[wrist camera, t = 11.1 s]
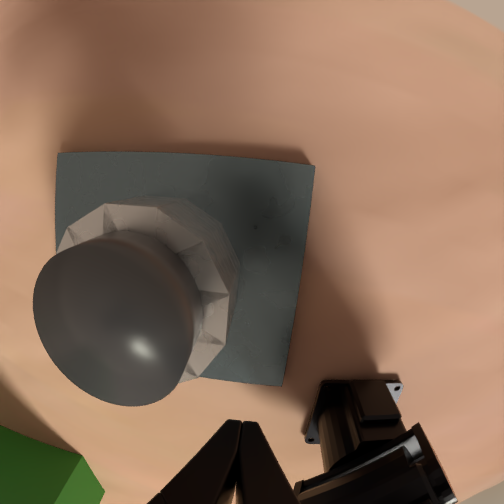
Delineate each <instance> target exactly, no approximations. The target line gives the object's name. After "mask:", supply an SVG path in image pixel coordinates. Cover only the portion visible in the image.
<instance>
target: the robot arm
mask: <svg viewBox="0 0 504 504" xmlns="http://www.w3.org/2000/svg"><path fill="white" fill-rule="evenodd" d="M325 386H329V387H328V388H324V387H325ZM396 386H398V387H397V388H395V387H396ZM402 389H403V384H402V382H401V381H399V380H324V381H322V382H321V383H320V385H319V389H318V393H317V396H316V400H315V403H314V407H313V410H312V414H311V417H310V421H309V424H308V427H307V430H306V434H305V442H306V443H308V444H320V447H321V453H322V460H323V467H324V473H323V474H320V475H318V476H315V477H313V478H310V479H308V480H305V481H304V480H302V481H299V482H296V483H295V486H294V490H293V489H292V487H291V486H290V484H289V482H288V480H287V478H286V476H285V474H284V472H283V471H282V469H281V467H280V465H279V463H278V461H277V459H276V457H275V455H274V453H273V451H272V449H271V448H270V446H269V444H268V442H267V440H266V438H265V436H264V434H263V432H262V430H261V428H260V426H259V424H258V423H257V422H252V421H244V422H243V423H242V421H240V420H231V419H228V420H227V421H225V423H224V424H223V425H222V426H221V427H220V428H219V429H218V431H217V432H216V433H215V434H214V435H213V436H212V437H211V438H210V439H209V441H208V442H207V443H206V444H205V445H204V446H203V447H202V448H201V449H200V450H199V451H198V453H197V454H196V455H195V456H194V457H193V458H192V459H191V460H190V461H189V462H188V463H187V464H186V465H185V466H184V467H183V468H182V469H181V470H180V472H179V473H178V474H177V475H176V476H175V477H174V478H173V479H172V480H171V481H170V482H169V483H168V484H167V485H166V486H165V487H164V488H163V489H162V490H161V491H160V493H157V494H156V495H155V496H154V497H153V498H152V499H151V500H150V501H149V502H148V503H147V504H231V503H232V499H233V496H234V492H235V486H236V504H455V503H457V502H458V501H457V498H456V496H455V494H454V491H453V489H452V487H451V484H450V482H449V480H448V477H447V475H446V473H445V471H444V469H443V467H442V465H441V463H440V461H439V459H438V457H437V455H436V453H435V451H434V449H433V447H432V446H431V444H430V442H429V440H428V438H427V436H426V434H425V433H424V431H423V429H422V427H421V425H420V424H419V423H417V424H415V425H414V426H412V428H411V429H410V430H408V431H406V429H405V427H404V424H403V422H402V420H401V417H402V416H401V413H400V411H399V409H398V407H397V405H396V403H397V401H398V399H399V396H400V394H401V392H402ZM310 438H311V439H310Z"/></svg>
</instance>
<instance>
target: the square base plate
mask: <svg viewBox="0 0 504 504" xmlns="http://www.w3.org/2000/svg"><path fill="white" fill-rule="evenodd" d="M314 172H315V166H313V165H306V164H298V163H290V162H282V161H273V160H264V159H254V158H243V157H232V156H219V155H205V154H187V153H164V152H69V153H58V157H57V171H56V195H55V232H56V254H57V253H59V252H61V251H63V250H65V249H68V248H70V247H72V246H75V245H77V244H80V243H82V242H85V241H87V240H90V239H92V238H95V237H97V236H100V235H102V234H105V233H109V232H114V231H132V232H138V233H141V234H144V235H147V236H150V237H152V238H154V239H156V240H158V241H159V242H161V243H163V244H164V245H166V246H167V247H168V248H169V249H171V250H172V251H173V252H174V253H175V254H176V255H177V256H178V257H179V258H180V259H181V260H182V261H183V263H184V264H185V265H186V267H187V268H188V269H189V271H190V273H191V274H192V276H193V278H194V280H195V282H196V284H197V287H198V290H199V293H200V296H201V301H202V307H203V319H202V327H201V331H200V334H199V337H198V339H197V341H196V344H195V346H194V348H193V351H192V353H191V355H190V358H189V360H188V363H187V365H186V367H185V370H184V372H183V374H182V377H181V379H180V381H179V383H181V382H185V381H189V380H192V379H196V378H198V377H204V378H211V379H218V380H226V381H233V382H242V383H250V384H260V385H270V386H282V383H283V378H284V372H285V367H286V362H287V356H288V351H289V345H290V340H291V334H292V328H293V322H294V316H295V310H296V304H297V298H298V292H299V285H300V279H301V272H302V266H303V259H304V252H305V245H306V237H307V230H308V222H309V214H310V207H311V198H312V190H313V181H314Z"/></svg>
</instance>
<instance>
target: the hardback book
mask: <svg viewBox="0 0 504 504" xmlns="http://www.w3.org/2000/svg"><path fill="white" fill-rule="evenodd" d="M104 493H105V491H104V489H103V488H102V486H101V485H100V483H99V482H98V480H97V478H96V477H95V475H94V474H93V472H92V470H91V469H90V467H89V466H88V464H87V462H86V460H85V459H84V457H83V456H82V455H79V454H75V453H72V452H69V451H66V450H63V449H60V448H57V447H54V446H51V445H48V444H45V443H42V442H40V441H37V440H34V439H32V438H29V437H27V436H24V435H22V434H19V433H17V432H15V431H12V430H10V429H8V428H6V427H3V426H1V425H0V504H100V501H101V499H102V497H103V495H104Z"/></svg>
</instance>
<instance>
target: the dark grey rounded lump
mask: <svg viewBox="0 0 504 504" xmlns="http://www.w3.org/2000/svg"><path fill="white" fill-rule="evenodd" d="M33 313H34V319H35V324H36V328H37V331H38V334H39V337H40V339H41V341H42V344H43V346H44V348H45V349H46V351H47V353H48V355H49V356H50V358H51V359H52V361H53V362H54V364H55V365H56V366H57V367H58V368H59V370H60V371H61V372H62V373H63V374H64V375H65V376H66V377H67V378H68V379H69V380H70V381H71V382H73V383H74V384H75V385H76V386H78V387H79V388H80V389H82V390H83V391H85V392H86V393H88V394H90V395H92V396H94V397H96V398H98V399H100V400H103V401H105V402H108V403H112V404H116V405H121V406H143V405H148V404H151V403H155V402H157V401H159V400H161V399H163V398H164V397H165V396H167V395H168V394H169V393H170V392H171V391H172V390H173V389H174V388H175V387H176V385H177V384H178V383H179V381H180V379H181V377H182V374H183V372H184V370H185V367H186V365H187V363H188V360H189V358H190V355H191V353H192V351H193V348H194V346H195V344H196V341H197V339H198V337H199V334H200V331H201V327H202V319H203V307H202V301H201V296H200V293H199V290H198V287H197V284H196V282H195V280H194V278H193V276H192V274H191V273H190V271H189V269H188V268H187V267H186V265H185V264H184V263H183V261H182V260H181V259H180V258H179V257H178V256H177V255H176V254H175V253H174V252H173V251H172V250H171V249H169V248H168V247H167V246H166V245H164V244H163V243H161V242H159V241H158V240H156V239H154V238H152V237H150V236H147V235H144V234H141V233H138V232H132V231H114V232H109V233H105V234H102V235H100V236H97V237H95V238H92V239H90V240H87V241H85V242H82V243H80V244H77V245H75V246H72V247H70V248H68V249H65V250H63V251H61V252H59V253H57V254H56V255H55V256H53V257H52V258H51V259H50V260H49V261H48V262H47V263H46V264H45V265H44V267H43V268H42V270H41V272H40V273H39V276H38V278H37V281H36V284H35V288H34V294H33Z"/></svg>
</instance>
